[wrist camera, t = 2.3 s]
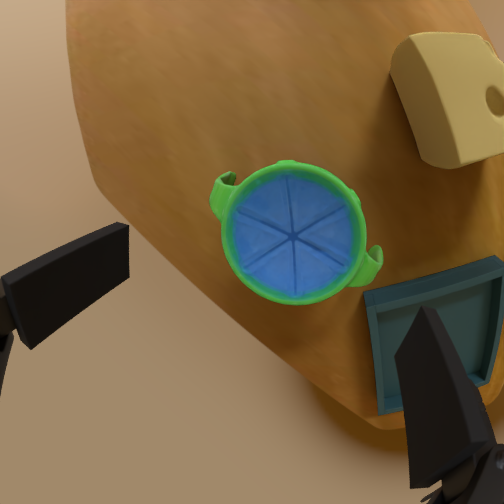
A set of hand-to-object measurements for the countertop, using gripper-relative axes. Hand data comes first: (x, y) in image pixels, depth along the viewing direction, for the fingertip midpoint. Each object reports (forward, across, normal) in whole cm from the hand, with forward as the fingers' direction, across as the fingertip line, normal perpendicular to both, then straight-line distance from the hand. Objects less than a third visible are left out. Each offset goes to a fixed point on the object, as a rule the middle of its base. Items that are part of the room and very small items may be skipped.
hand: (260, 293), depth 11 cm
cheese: (+19, +12, +15) cm, 27 cm away
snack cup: (+19, 0, 0) cm, 19 cm away
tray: (+19, +21, -11) cm, 31 cm away
